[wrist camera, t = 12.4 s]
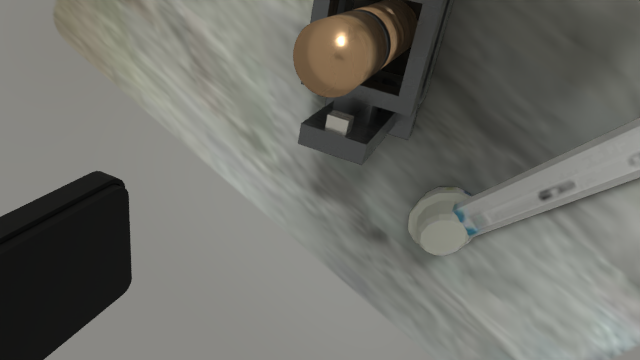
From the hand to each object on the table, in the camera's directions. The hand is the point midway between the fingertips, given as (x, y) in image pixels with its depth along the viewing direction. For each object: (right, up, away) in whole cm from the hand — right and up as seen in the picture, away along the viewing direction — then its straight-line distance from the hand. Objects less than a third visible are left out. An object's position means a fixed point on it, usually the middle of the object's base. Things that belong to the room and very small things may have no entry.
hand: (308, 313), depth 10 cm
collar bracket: (+6, +13, +30) cm, 33 cm away
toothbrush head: (+19, +4, +29) cm, 35 cm away
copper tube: (+6, +15, +29) cm, 33 cm away
